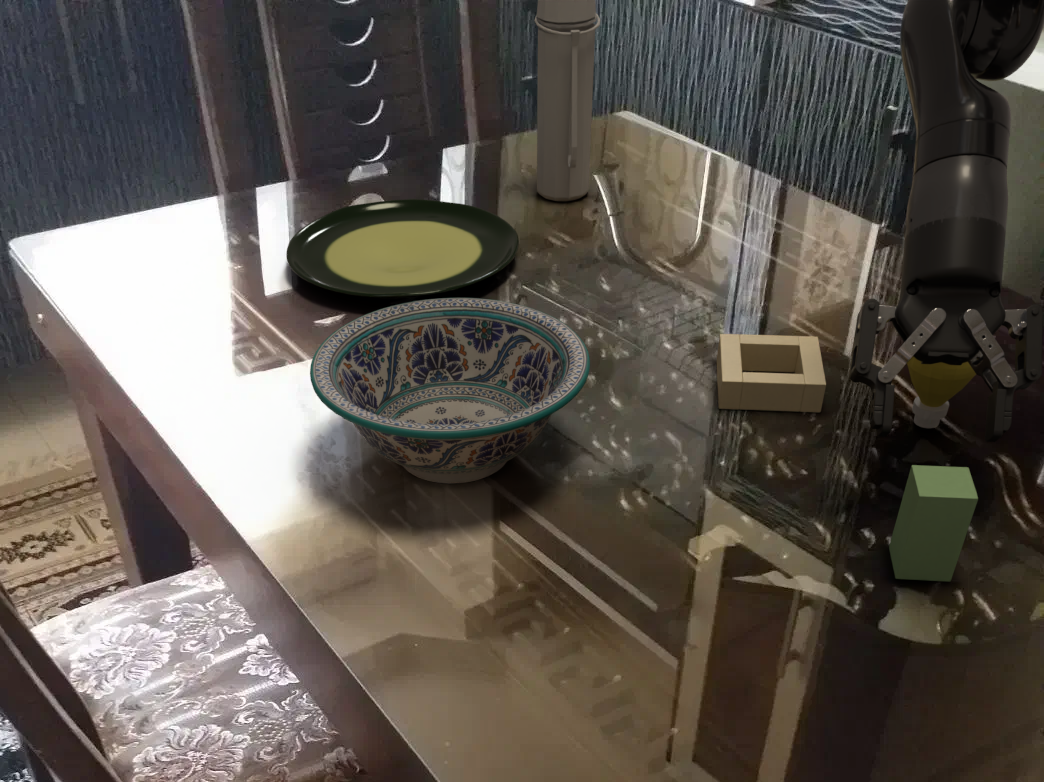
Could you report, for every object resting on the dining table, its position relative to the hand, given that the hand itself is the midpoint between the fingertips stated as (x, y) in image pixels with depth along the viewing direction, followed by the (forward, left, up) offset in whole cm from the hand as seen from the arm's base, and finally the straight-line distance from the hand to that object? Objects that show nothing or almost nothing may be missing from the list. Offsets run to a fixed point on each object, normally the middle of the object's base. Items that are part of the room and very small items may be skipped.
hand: (938, 437), depth 92 cm
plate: (+53, -52, -9) cm, 74 cm away
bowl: (+41, -10, -9) cm, 43 cm away
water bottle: (+35, -74, -9) cm, 82 cm away
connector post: (0, +4, -9) cm, 10 cm away
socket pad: (+11, -25, -9) cm, 28 cm away
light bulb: (-4, -19, -9) cm, 21 cm away
